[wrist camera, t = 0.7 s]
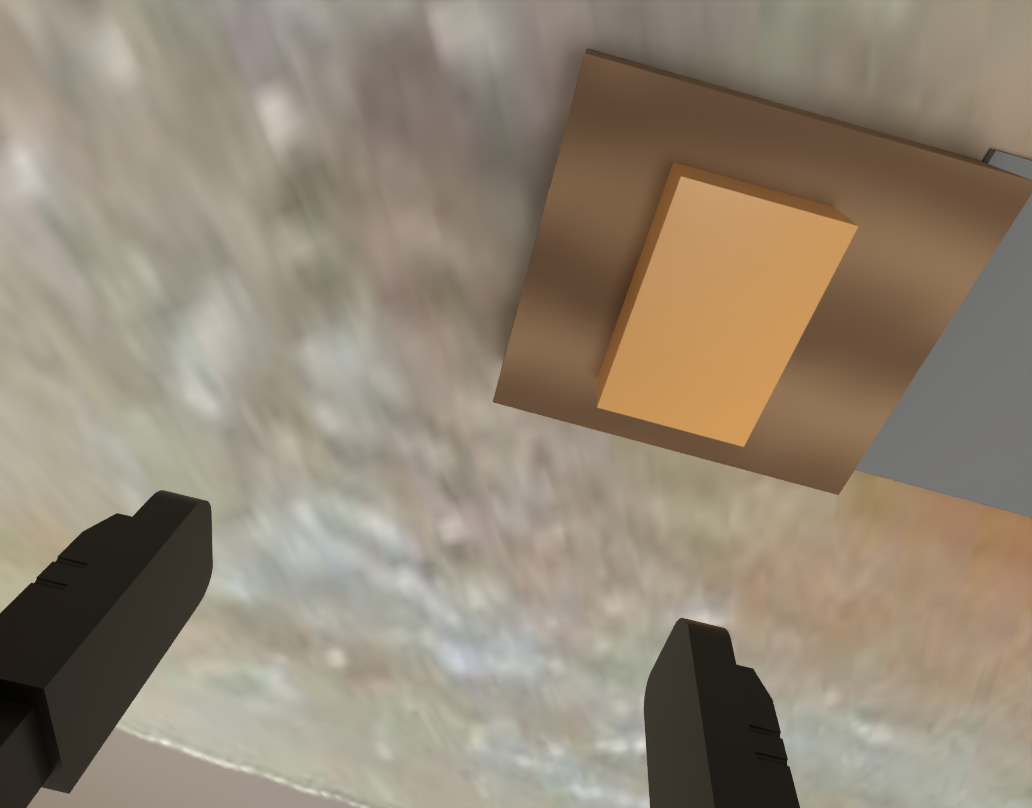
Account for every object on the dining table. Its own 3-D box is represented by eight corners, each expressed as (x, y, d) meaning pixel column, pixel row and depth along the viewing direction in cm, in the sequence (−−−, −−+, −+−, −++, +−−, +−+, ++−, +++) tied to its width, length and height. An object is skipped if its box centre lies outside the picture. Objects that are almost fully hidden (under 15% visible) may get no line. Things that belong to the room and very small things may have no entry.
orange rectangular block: (673, 161, 23) (681, 176, 21) (835, 207, 24) (858, 226, 21) (597, 377, 28) (596, 407, 26) (732, 414, 28) (743, 447, 26)
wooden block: (587, 48, 25) (585, 53, 22) (980, 161, 26) (1038, 182, 22) (504, 361, 33) (492, 402, 29) (813, 445, 33) (838, 494, 30)
